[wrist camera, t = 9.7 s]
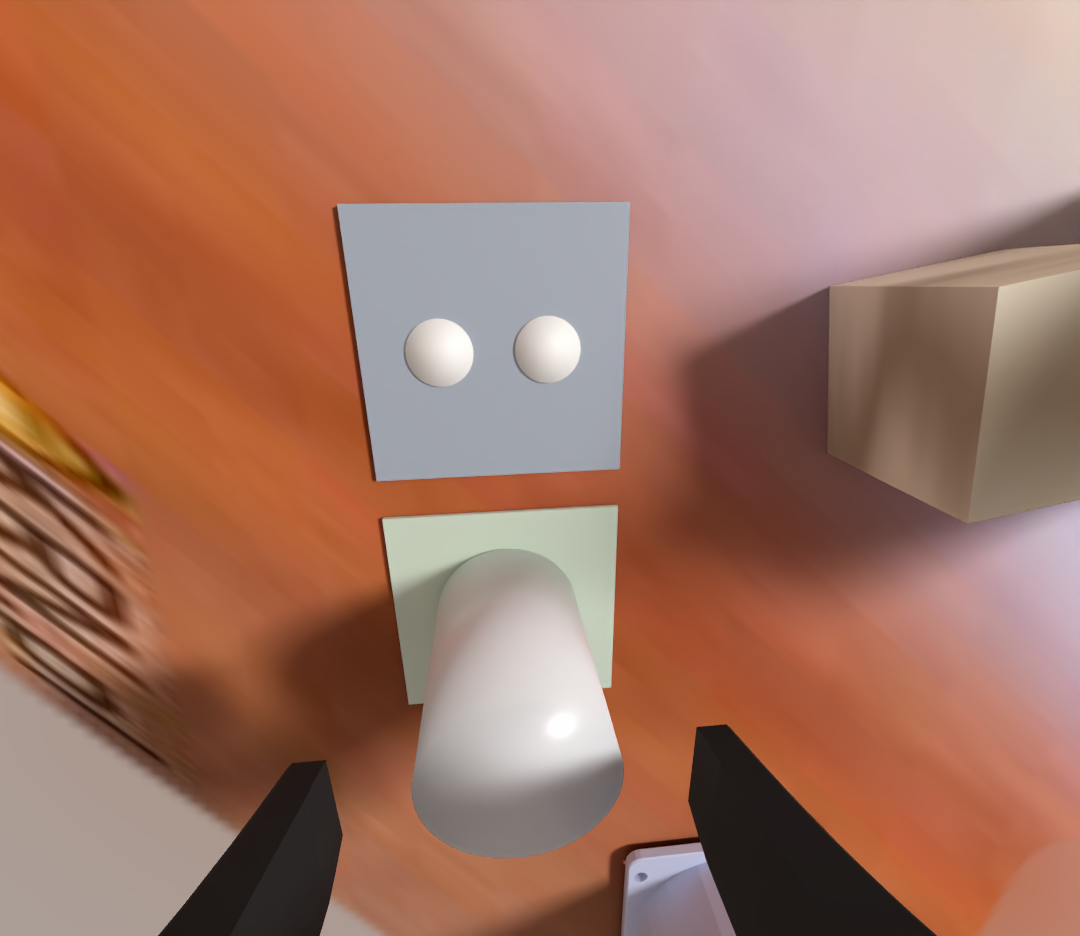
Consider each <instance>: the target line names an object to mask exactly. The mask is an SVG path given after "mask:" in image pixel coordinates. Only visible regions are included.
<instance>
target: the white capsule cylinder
mask: <svg viewBox="0 0 1080 936" xmlns="http://www.w3.org/2000/svg"><path fill="white" fill-rule="evenodd" d="M623 777H624V767H623V760H622V756H621V752H620V749H619V745H618V742H617V739H616V735H615V732H614V728H613V725H612V721H611V718H610V715H609V711H608V708H607V704H606V701H605V697H604V694H603V691H602V687H601V684H600V680H599V677H598V673H597V670H596V667H595V663H594V660H593V656H592V653H591V649H590V646H589V642H588V639H587V636H586V632H585V629H584V625H583V622H582V618H581V615H580V612H579V608H578V605H577V601H576V598H575V594H574V591H573V588H572V586H571V583H570V581H569V579H568V578H567V576H566V575H565V573H564V572H563V571H562V570H561V569H560V568H559V567H558V566H557V565H556V564H555V563H553V562H552V561H550V560H549V559H547V558H545V557H543V556H541V555H539V554H536V553H534V552H530V551H526V550H519V549H501V550H494V551H490V552H486V553H483V554H481V555H478V556H476V557H474V558H472V559H470V560H468V561H467V562H465V563H464V564H462V565H461V566H460V567H459V568H458V569H457V570H455V571H454V573H453V574H452V575H451V576H450V577H449V579H448V580H447V582H446V583H445V585H444V587H443V589H442V591H441V594H440V598H439V603H438V610H437V617H436V623H435V630H434V637H433V644H432V651H431V657H430V664H429V671H428V678H427V685H426V692H425V698H424V705H423V712H422V719H421V726H420V732H419V739H418V746H417V753H416V760H415V766H414V773H413V781H412V800H413V804H414V808H415V810H416V812H417V815H418V817H419V818H420V820H421V821H422V823H423V824H424V826H425V827H426V828H427V829H428V830H429V831H430V832H431V833H432V834H433V835H434V836H436V837H437V838H438V839H439V840H441V841H442V842H444V843H446V844H448V845H449V846H451V847H453V848H456V849H458V850H460V851H463V852H466V853H470V854H473V855H478V856H483V857H491V858H519V857H527V856H533V855H538V854H542V853H546V852H549V851H552V850H555V849H558V848H560V847H563V846H565V845H567V844H569V843H571V842H573V841H575V840H577V839H578V838H580V837H582V836H583V835H585V834H586V833H588V832H589V831H590V830H592V829H593V828H594V827H595V826H596V825H597V824H599V823H600V822H601V821H602V820H603V818H604V817H605V816H606V815H607V814H608V813H609V811H610V810H611V808H612V807H613V805H614V804H615V802H616V800H617V798H618V796H619V794H620V791H621V787H622V784H623Z"/></svg>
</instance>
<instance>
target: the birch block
mask: <svg viewBox="0 0 1080 936" xmlns="http://www.w3.org/2000/svg"><path fill="white" fill-rule="evenodd" d="M827 453H828V454H830V455H832V456H833V457H835V458H837V459H839V460H841V461H843V462H845V463H847V464H849V465H851V466H853V467H855V468H857V469H859V470H861V471H863V472H865V473H867V474H869V475H871V476H873V477H875V478H877V479H879V480H881V481H883V482H885V483H887V484H889V485H891V486H893V487H895V488H897V489H899V490H901V491H903V492H905V493H907V494H909V495H911V496H913V497H915V498H917V499H919V500H921V501H923V502H925V503H927V504H929V505H931V506H933V507H935V508H937V509H939V510H941V511H943V512H945V513H947V514H949V515H951V516H953V517H955V518H956V519H958V520H960V521H962V522H964V523H966V524H971V523H975V522H980V521H984V520H989V519H993V518H998V517H1002V516H1007V515H1011V514H1016V513H1020V512H1025V511H1029V510H1034V509H1038V508H1043V507H1047V506H1052V505H1056V504H1061V503H1065V502H1070V501H1075V500H1079V499H1080V244H1071V245H1057V246H1042V247H1028V248H1013V249H1002V250H997V251H993V252H988V253H983V254H979V255H974V256H969V257H964V258H960V259H955V260H950V261H946V262H941V263H936V264H931V265H927V266H922V267H917V268H913V269H908V270H903V271H898V272H894V273H889V274H884V275H880V276H875V277H870V278H866V279H861V280H856V281H851V282H847V283H842V284H837V285H833V286H830V303H829V369H828V434H827Z"/></svg>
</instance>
